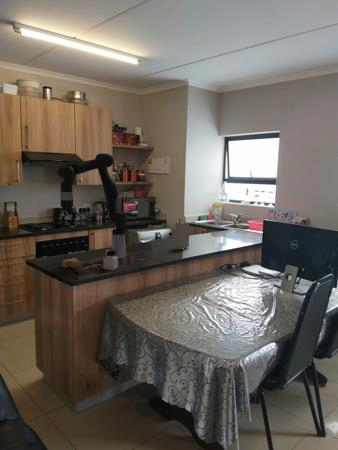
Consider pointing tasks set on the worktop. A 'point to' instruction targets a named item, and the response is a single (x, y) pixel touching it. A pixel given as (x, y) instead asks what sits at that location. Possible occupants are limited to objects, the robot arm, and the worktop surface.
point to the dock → (88, 268)
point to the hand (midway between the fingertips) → (67, 225)
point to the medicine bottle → (110, 260)
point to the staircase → (181, 235)
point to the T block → (71, 263)
